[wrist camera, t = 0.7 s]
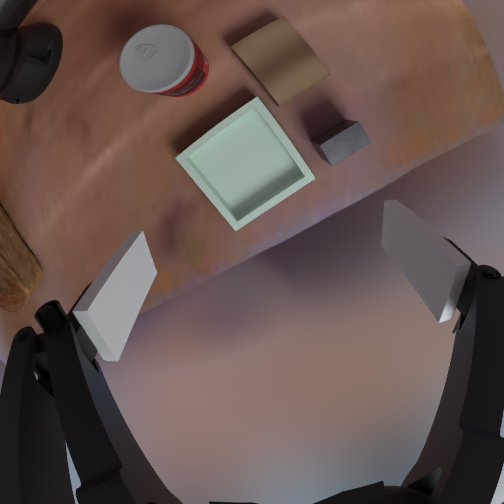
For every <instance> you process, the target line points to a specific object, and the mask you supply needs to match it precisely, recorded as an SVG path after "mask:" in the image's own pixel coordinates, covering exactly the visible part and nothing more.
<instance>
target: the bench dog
mask: <svg viewBox="0 0 504 504" xmlns="http://www.w3.org/2000/svg"><path fill="white" fill-rule="evenodd" d="M311 142H312V144H313V145H314V147H315V148H316V150H317V151H318V153H319V155H320V156H321V158H322V159H323V160H324V161H326V162H327V163H329V164H330V165H332V166H333V165H335V164H336V163H338V162H340V161H341V160H343V159H344V158H346V157H348V156H349V155H351V154H352V153H354V152H356V151H357V150H359V149H360V148H362V147H364V146H365V145H367V144H369V143H370V140H369V138H368V136H367V135H366V133H365V131H364V129H363V127H362V126H361V124H360V122H359V121H351V120H345V121H343V122H341V123H340V124H338V125H336V126H335V127H333V128H332V129H330V130H328V131H327V132H325V133H323V134H322V135H320V136H319V137H317V138H315V139H314V140H312V141H311Z"/></svg>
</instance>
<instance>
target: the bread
mask: <svg viewBox="0 0 504 504" xmlns="http://www.w3.org/2000/svg"><path fill="white" fill-rule="evenodd" d="M42 277H43V271H42V269H41V267H40V265H39V263H38V261H37V259H36V258H35V256H34V255H33V254H32V252H31V251H30V250H29V249H28V247H27V246H26V245H25V243H24V242H23V240H22V239H21V237H20V236H19V234H18V233H17V231H16V229H15V227H14V226H13V224H12V222H11V220H10V219H9V217H8V216H7V214H6V213H5V211H4V210H3V208H2V207H1V205H0V308H1V309H3V310H5V311H8V312H19V311H21V310H22V308H23V307H24V306H25V305H26V303H27V302H28V300H29V298H30V296H31V295H32V293H33V292H34V291H35V290H36V288H37V286H38V285H39V283H40V281H41V280H42Z"/></svg>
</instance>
